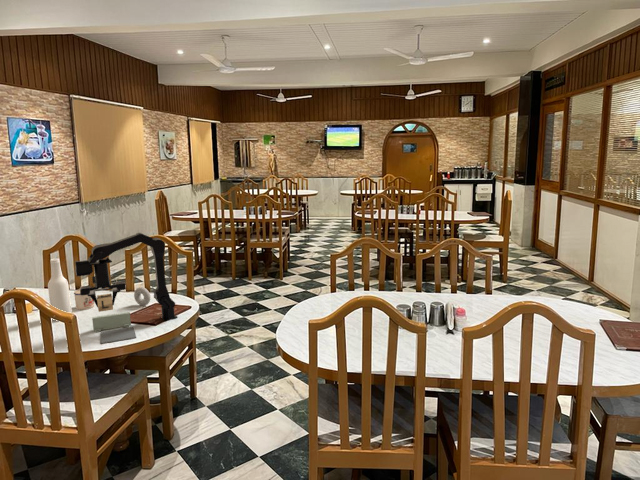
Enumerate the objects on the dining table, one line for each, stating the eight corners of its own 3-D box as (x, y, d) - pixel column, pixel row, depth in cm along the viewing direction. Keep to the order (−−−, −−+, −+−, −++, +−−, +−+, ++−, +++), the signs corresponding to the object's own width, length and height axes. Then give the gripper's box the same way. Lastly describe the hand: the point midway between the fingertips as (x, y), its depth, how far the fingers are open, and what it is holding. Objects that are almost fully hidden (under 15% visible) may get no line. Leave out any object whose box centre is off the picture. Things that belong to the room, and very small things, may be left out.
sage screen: (131, 326, 223) (130, 314, 222) (93, 332, 217) (92, 320, 216) (130, 322, 229) (129, 310, 228) (93, 328, 222) (92, 315, 221)
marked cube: (113, 309, 217) (111, 296, 215) (98, 311, 214) (97, 298, 213) (112, 305, 222) (111, 293, 221) (98, 307, 220) (97, 295, 218)
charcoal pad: (136, 338, 209) (136, 337, 209) (101, 344, 204) (101, 342, 204) (133, 327, 222) (133, 326, 222) (100, 332, 216) (100, 331, 216)
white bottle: (53, 322, 231) (45, 262, 225) (51, 317, 238) (43, 258, 232) (73, 318, 236) (66, 259, 230) (70, 313, 243) (63, 256, 237)
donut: (152, 305, 253) (151, 287, 251) (148, 307, 250) (146, 289, 248) (138, 303, 257) (136, 285, 255) (133, 305, 254) (131, 287, 252)
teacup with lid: (85, 310, 247) (83, 289, 244) (71, 309, 249) (69, 288, 247) (102, 303, 258) (100, 282, 256) (88, 302, 260) (86, 281, 258)
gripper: (123, 266, 226) (126, 298, 229) (79, 271, 218) (83, 304, 221) (124, 272, 216) (127, 304, 219) (78, 277, 208) (82, 311, 211)
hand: (105, 306), depth 218 cm, fingers closed on marked cube, 6 cm apart
